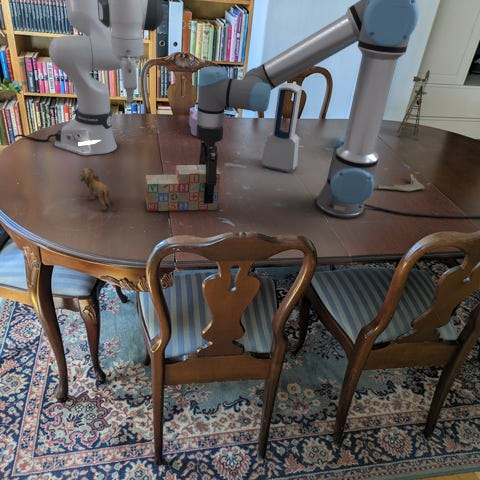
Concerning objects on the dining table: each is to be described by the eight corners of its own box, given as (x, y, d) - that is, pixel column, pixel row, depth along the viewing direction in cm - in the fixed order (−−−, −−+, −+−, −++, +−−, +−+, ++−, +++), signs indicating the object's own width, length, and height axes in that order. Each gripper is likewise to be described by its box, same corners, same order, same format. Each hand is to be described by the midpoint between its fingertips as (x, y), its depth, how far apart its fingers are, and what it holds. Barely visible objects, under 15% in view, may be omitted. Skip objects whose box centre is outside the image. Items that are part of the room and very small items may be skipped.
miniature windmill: (417, 139, 216) (437, 73, 200) (398, 137, 217) (417, 70, 201) (414, 133, 223) (434, 68, 207) (397, 130, 224) (415, 66, 208)
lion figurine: (77, 195, 143) (74, 168, 138) (92, 190, 146) (90, 163, 142) (107, 213, 136) (105, 185, 131) (122, 207, 139) (120, 180, 134)
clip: (182, 123, 206) (183, 107, 202) (209, 122, 210) (210, 106, 207) (197, 140, 191) (197, 123, 187) (225, 138, 195) (226, 122, 191)
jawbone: (429, 189, 172) (431, 184, 171) (394, 201, 161) (396, 196, 160) (410, 177, 177) (412, 172, 176) (375, 189, 167) (376, 184, 165)
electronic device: (296, 166, 177) (310, 86, 161) (292, 174, 171) (306, 91, 154) (265, 160, 180) (276, 80, 163) (259, 167, 174) (270, 85, 157)
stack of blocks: (147, 212, 139) (146, 174, 132) (145, 202, 144) (145, 165, 137) (217, 209, 144) (220, 173, 137) (214, 199, 149) (216, 164, 142)
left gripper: (141, 56, 124) (142, 107, 132) (137, 40, 141) (138, 87, 148) (116, 55, 123) (119, 107, 130) (115, 39, 139) (117, 86, 146)
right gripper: (231, 138, 125) (224, 212, 137) (216, 113, 141) (211, 181, 153) (203, 138, 123) (199, 213, 135) (191, 112, 139) (189, 182, 151)
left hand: (129, 96), depth 139 cm, fingers open, 8 cm apart
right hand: (206, 196), depth 144 cm, fingers open, 8 cm apart
